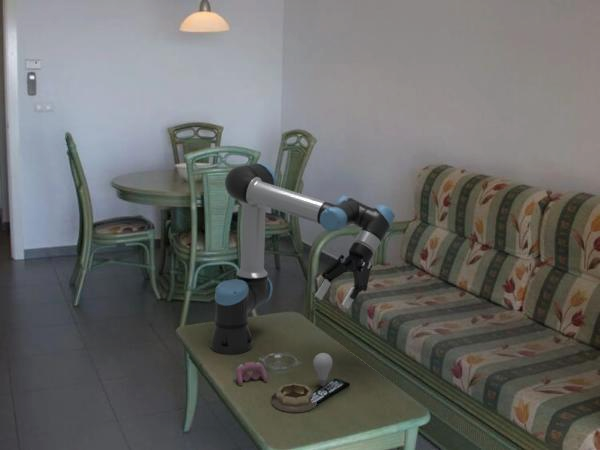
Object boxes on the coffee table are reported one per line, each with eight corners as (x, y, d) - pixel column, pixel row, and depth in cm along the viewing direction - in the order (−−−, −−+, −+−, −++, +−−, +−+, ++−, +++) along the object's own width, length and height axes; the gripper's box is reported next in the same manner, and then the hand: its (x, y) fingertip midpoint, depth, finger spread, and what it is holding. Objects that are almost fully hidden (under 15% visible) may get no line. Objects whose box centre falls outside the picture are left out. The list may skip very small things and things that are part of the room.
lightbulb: (330, 391, 216) (331, 358, 213) (311, 389, 217) (312, 356, 214) (333, 383, 222) (334, 350, 219) (314, 380, 223) (315, 348, 220)
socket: (263, 396, 211) (263, 386, 210) (304, 388, 217) (304, 377, 217) (283, 416, 199) (284, 405, 198) (326, 407, 205) (326, 396, 204)
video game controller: (264, 382, 224) (262, 360, 226) (269, 381, 220) (266, 359, 222) (235, 386, 221) (233, 364, 222) (239, 386, 217) (236, 363, 218)
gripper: (397, 260, 218) (363, 316, 213) (346, 248, 238) (314, 300, 233) (384, 246, 214) (349, 304, 209) (333, 236, 234) (300, 288, 229)
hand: (331, 302), depth 221 cm, fingers open, 13 cm apart
